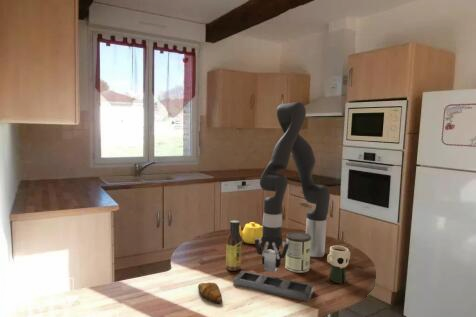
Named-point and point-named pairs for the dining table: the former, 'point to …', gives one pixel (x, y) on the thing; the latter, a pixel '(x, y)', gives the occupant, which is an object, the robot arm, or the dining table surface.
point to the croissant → (210, 292)
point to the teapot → (251, 232)
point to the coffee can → (298, 252)
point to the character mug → (338, 263)
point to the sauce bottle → (233, 247)
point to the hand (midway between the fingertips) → (271, 265)
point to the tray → (274, 285)
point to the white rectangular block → (270, 261)
